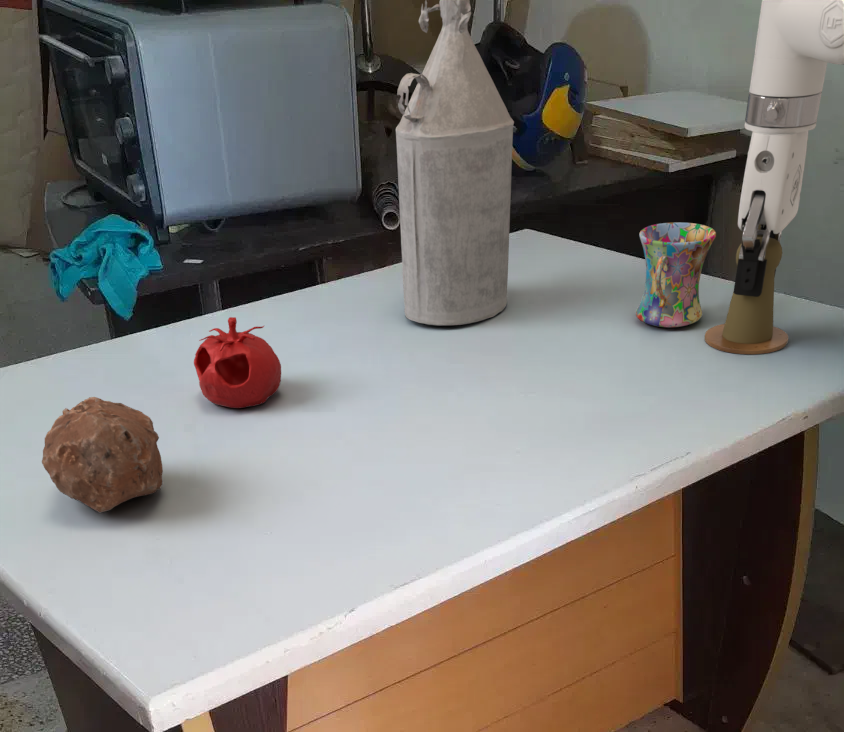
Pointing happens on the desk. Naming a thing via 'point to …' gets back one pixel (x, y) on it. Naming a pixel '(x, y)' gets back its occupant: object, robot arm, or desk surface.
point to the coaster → (719, 342)
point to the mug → (673, 272)
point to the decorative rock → (103, 454)
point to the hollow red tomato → (237, 368)
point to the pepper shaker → (754, 305)
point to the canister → (454, 181)
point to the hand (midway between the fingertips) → (754, 285)
